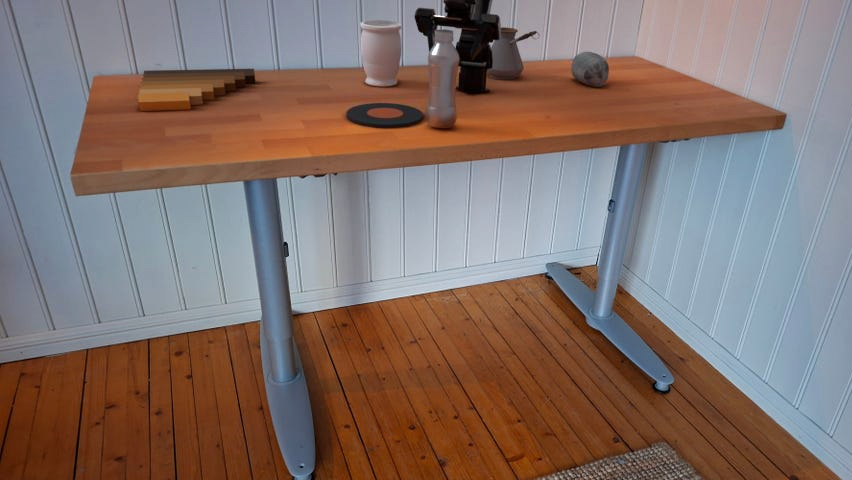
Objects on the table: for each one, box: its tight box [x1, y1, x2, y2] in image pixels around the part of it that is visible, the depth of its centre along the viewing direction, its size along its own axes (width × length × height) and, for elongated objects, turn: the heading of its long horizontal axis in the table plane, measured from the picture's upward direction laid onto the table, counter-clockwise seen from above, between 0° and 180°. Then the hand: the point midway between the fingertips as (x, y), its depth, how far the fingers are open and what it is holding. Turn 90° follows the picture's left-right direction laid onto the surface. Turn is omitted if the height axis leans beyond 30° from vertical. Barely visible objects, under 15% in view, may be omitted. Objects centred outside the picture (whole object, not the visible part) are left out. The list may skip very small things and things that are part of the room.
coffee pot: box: [484, 26, 541, 80], centre depth 186 cm, size 21×12×15 cm, turn 28°
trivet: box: [346, 102, 424, 129], centre depth 152 cm, size 17×17×1 cm
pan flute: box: [137, 68, 256, 112], centre depth 158 cm, size 25×3×25 cm
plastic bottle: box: [425, 28, 459, 129], centre depth 143 cm, size 6×7×20 cm
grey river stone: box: [570, 51, 610, 88], centre depth 191 cm, size 14×10×10 cm
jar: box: [359, 19, 402, 87], centre depth 175 cm, size 11×10×15 cm
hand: (450, 56), depth 148 cm, fingers open, 9 cm apart
